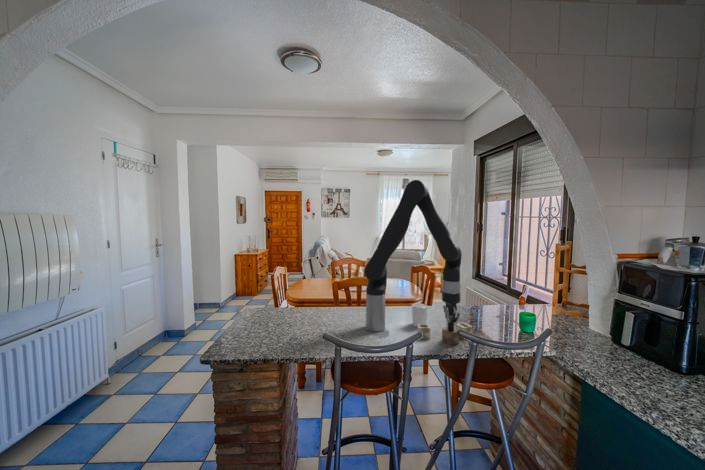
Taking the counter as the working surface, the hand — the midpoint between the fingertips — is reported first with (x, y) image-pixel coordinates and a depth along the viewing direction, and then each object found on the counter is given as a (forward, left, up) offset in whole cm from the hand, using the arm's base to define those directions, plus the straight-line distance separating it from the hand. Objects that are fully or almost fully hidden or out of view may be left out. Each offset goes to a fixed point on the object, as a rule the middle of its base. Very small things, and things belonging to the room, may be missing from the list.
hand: (450, 330), depth 121 cm
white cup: (-8, +21, -5) cm, 23 cm away
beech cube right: (+9, +7, -5) cm, 12 cm away
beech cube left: (-10, +6, -5) cm, 13 cm away
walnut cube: (0, 0, -5) cm, 5 cm away
